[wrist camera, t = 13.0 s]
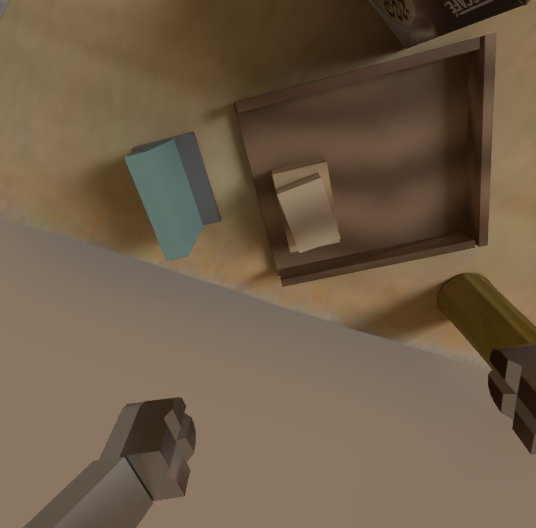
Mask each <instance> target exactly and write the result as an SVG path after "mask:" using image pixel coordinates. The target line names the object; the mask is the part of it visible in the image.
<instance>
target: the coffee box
mask: <svg viewBox="0 0 536 528" xmlns="http://www.w3.org/2000/svg"><path fill="white" fill-rule="evenodd" d="M368 1H369V3H370V4H371V5H372V6H373V8H374V9H375V10H376V12H377V13H378V14H379V15H380V17H381V18H382V19H383V21H384V22H385V23H386V24H387V26H388V27H389V28H390V30H391V31H392V32H393V33H394V35H395V36H396V37H397V38H398V40H399V41H400V42H401V44H402V45H403V46H404V48H406V49H407V48H410V47H412V46H415V45H417V44H420V43H423V42H426V41H428V40H431V39H434V38H436V37H439V36H442V35H444V34H447V33H450V32H452V31H455V30H458V29H461V28H463V27H466V26H468V25H471V24H474V23H477V22H479V21H482V20H485V19H487V18H490V17H493V16H495V15H498V14H501V13H504V12H506V11H509V10H512V9H514V8H517V7H520V6H523V5H527V4H528V3H529V2H530V1H531V0H368Z"/></svg>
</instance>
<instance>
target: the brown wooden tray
mask: <svg viewBox="0 0 536 528" xmlns="http://www.w3.org/2000/svg"><path fill="white" fill-rule="evenodd" d="M495 54H496V33H493V34H489V35H485V36H482V37H478V38H474V39H470V40H467V41H463V42H459V43H455V44H452V45H448V46H444V47H441V48H437V49H433V50H429V51H426V52H422V53H418V54H414V55H411V56H407V57H403V58H400V59H396V60H392V61H388V62H385V63H381V64H377V65H374V66H370V67H366V68H362V69H359V70H355V71H351V72H347V73H344V74H340V75H336V76H333V77H329V78H325V79H321V80H318V81H314V82H310V83H306V84H303V85H299V86H295V87H292V88H288V89H284V90H280V91H277V92H273V93H269V94H265V95H262V96H258V97H254V98H251V99H247V100H243V101H239V102H236V103H234V106H235V110H236V114H237V118H238V122H239V126H240V130H241V133H242V137H243V141H244V145H245V149H246V153H247V157H248V161H249V164H250V168H251V172H252V176H253V180H254V184H255V188H256V192H257V195H258V199H259V203H260V207H261V211H262V215H263V219H264V222H265V226H266V230H267V234H268V238H269V242H270V246H271V250H272V253H273V257H274V261H275V265H276V269H277V273H278V276H281V283H282V287H284V286H289V285H294V284H298V283H303V282H308V281H313V280H318V279H323V278H328V277H333V276H338V275H343V274H348V273H353V272H357V271H362V270H367V269H372V268H377V267H382V266H387V265H392V264H397V263H402V262H407V261H412V260H416V259H421V258H426V257H431V256H436V255H441V254H446V253H451V252H456V251H461V250H466V249H471V248H475V244H476V245H477V246H479V247H480V246H485V245H488V221H489V197H490V173H491V149H492V126H493V102H494V78H495ZM323 157H324V159H325V160H326V161H327V166H328V172H329V178H330V184H331V191H332V197H333V203H334V209H335V215H336V222H337V228H338V232H339V235H340V238H341V239H339V240H340V242H338V243H334V244H329V245H324V246H320V247H316V248H313V249H311V250H308V251H305V252H302V253H299V251H296V252H292V253H290V249H289V245H288V240H287V236H286V232H285V227H284V223H283V219H282V214H281V210H280V206H279V202H278V197H277V193H276V189H275V184H274V180H273V176H272V170H274V169H278V168H282V167H286V166H290V165H294V164H298V163H303V162H307V161H311V160H315V159H319V158H323Z"/></svg>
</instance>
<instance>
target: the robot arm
mask: <svg viewBox="0 0 536 528" xmlns="http://www.w3.org/2000/svg"><path fill="white" fill-rule="evenodd" d="M490 362H491V363H492V365H493V366H494V367H495V368H494V369H493V370H492V371H491V372H490V373H489V374H488V387H489V391H490V394H491V397H492V398H493V401H494V403H495V404H496V406H497V407H498V409H499V410H500V412H501V413H503V414H504V415H506V416H508V417H510V418H511V419H513V427H512V429H513V430H514V432H515V433H516V434H517V436H518V437H519V439H520V440H521V441H522V443H523V444H524V446H525V447H526V448H527V450H528V451H529V453H530V454H536V343H529V344H523V345H516V346H510V347H504V348H498V349H493V351H492V352H491V354H490ZM185 409H186V405H185V403H184V401H183V399H182V398H179V397H177V398H169V399H161V400H152V401H145V402H139V403H131V404H127V405H126V406H125V407H124V408H123V409H122V411H121V413H120V415H119V417H118V420H117V422H116V424H115V426H114V428H113V430H112V433H111V435H110V437H109V439H108V441H107V443H106V446H105V448H104V450H103V452H102V454H101V456H100V459H99V460H97V461H93V462H92V463H91V464H90V465H89V466H88V467H87V468H85V470H83V471H82V472H81V473H80V474H79V475H78V476H77V477H76V478H75V479H74V480H73V481H72V482H71V483H70V484H69V485H68V486H66V488H64V489H63V490H62V491H61V492H60V493H59V494H58V495H57V496H56V497H55V498H54V499H53V500H52V501H51V502H50V503H49V504H48V505H47V506H46V507H44V508H43V509H42V510H41V511H40V512H39V513H38V514H37V515H36V516H35V517H34V518H33V519H32V520H31V521H30V522H29V523H28V524H26V525H25V526H24V527H23V528H136V527H137V526H138V524H139V523H140V521H141V520H142V519H143V517H144V516H145V514H146V513H147V511H148V510H149V508H150V507H151V506H152V504H153V502H152V501H156V500H163V499H169V498H176V497H182V496H185V492H186V487H187V483H188V478H189V473H190V469H189V467H188V464H187V461H188V460H189V459H190V457H191V456H192V455H193V454H194V449H195V444H196V431H195V427H194V423H193V420H192V418H191V417H190V416H188V415H187V414H185V413H184V412H185Z"/></svg>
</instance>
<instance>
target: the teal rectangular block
mask: <svg viewBox="0 0 536 528" xmlns="http://www.w3.org/2000/svg"><path fill="white" fill-rule="evenodd" d="M124 159H125V161H126V163H127V166H128V168H129V171H130V173H131V176H132V178H133V180H134V183H135V185H136V188H137V190H138V193H139V195H140V197H141V200H142V202H143V205H144V207H145V210H146V212H147V215H148V217H149V219H150V222H151V224H152V227H153V229H154V232H155V234H156V236H157V239H158V241H159V244H160V246H161V249H162V251H163V253H164V256H165V258H166V261H169V260H173V259H178V258H182V257H187V256H189V254H190V252H191V250H192V248H193V246H194V244H195V242H196V240H197V238H198V236H199V234H200V232H201V230H202V228H203V223H202V220H201V217H200V214H199V212H198V209H197V206H196V203H195V200H194V197H193V194H192V191H191V188H190V185H189V182H188V179H187V176H186V173H185V171H184V168H183V165H182V162H181V159H180V156H179V153H178V150H177V147H176V144H175V141H174V139H172V140H168V141H164V142H160V143H156V144H153V145H151V146H148V147H146V148H144V149H142V150H139V151H137V152H135V153H133V154H130V155H128V156H126V157H124Z"/></svg>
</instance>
